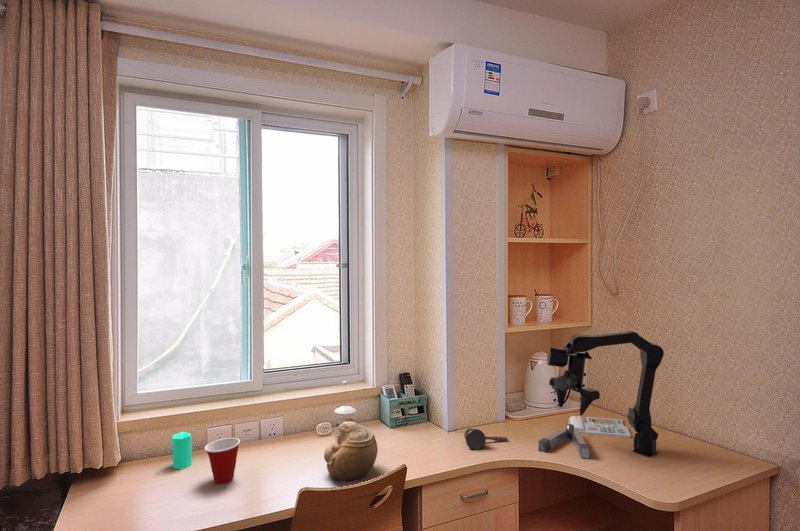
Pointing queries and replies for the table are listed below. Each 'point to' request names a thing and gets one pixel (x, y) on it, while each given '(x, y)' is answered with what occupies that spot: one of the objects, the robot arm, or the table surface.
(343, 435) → the buddha statue
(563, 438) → the tongs fixed
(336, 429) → the french press
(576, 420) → the office telephone
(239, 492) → the table surface
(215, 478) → the plastic cup
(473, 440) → the black mallet
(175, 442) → the candle
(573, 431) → the bar
